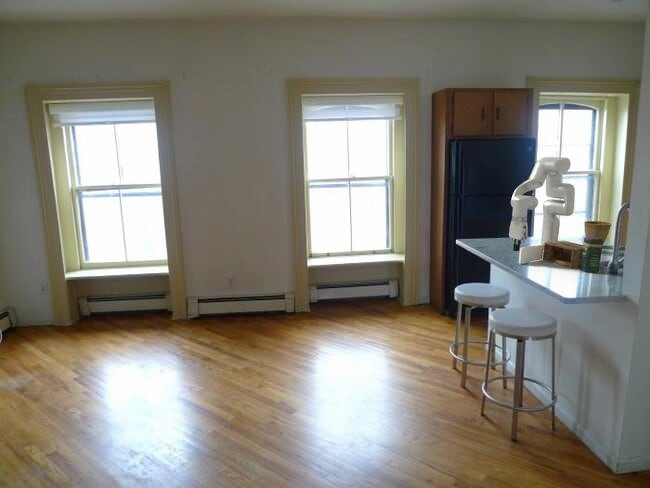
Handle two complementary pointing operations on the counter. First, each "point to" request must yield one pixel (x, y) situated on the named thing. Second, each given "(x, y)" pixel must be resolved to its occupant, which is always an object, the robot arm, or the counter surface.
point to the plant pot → (597, 229)
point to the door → (531, 253)
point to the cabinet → (563, 253)
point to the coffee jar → (591, 254)
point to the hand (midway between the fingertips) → (516, 250)
